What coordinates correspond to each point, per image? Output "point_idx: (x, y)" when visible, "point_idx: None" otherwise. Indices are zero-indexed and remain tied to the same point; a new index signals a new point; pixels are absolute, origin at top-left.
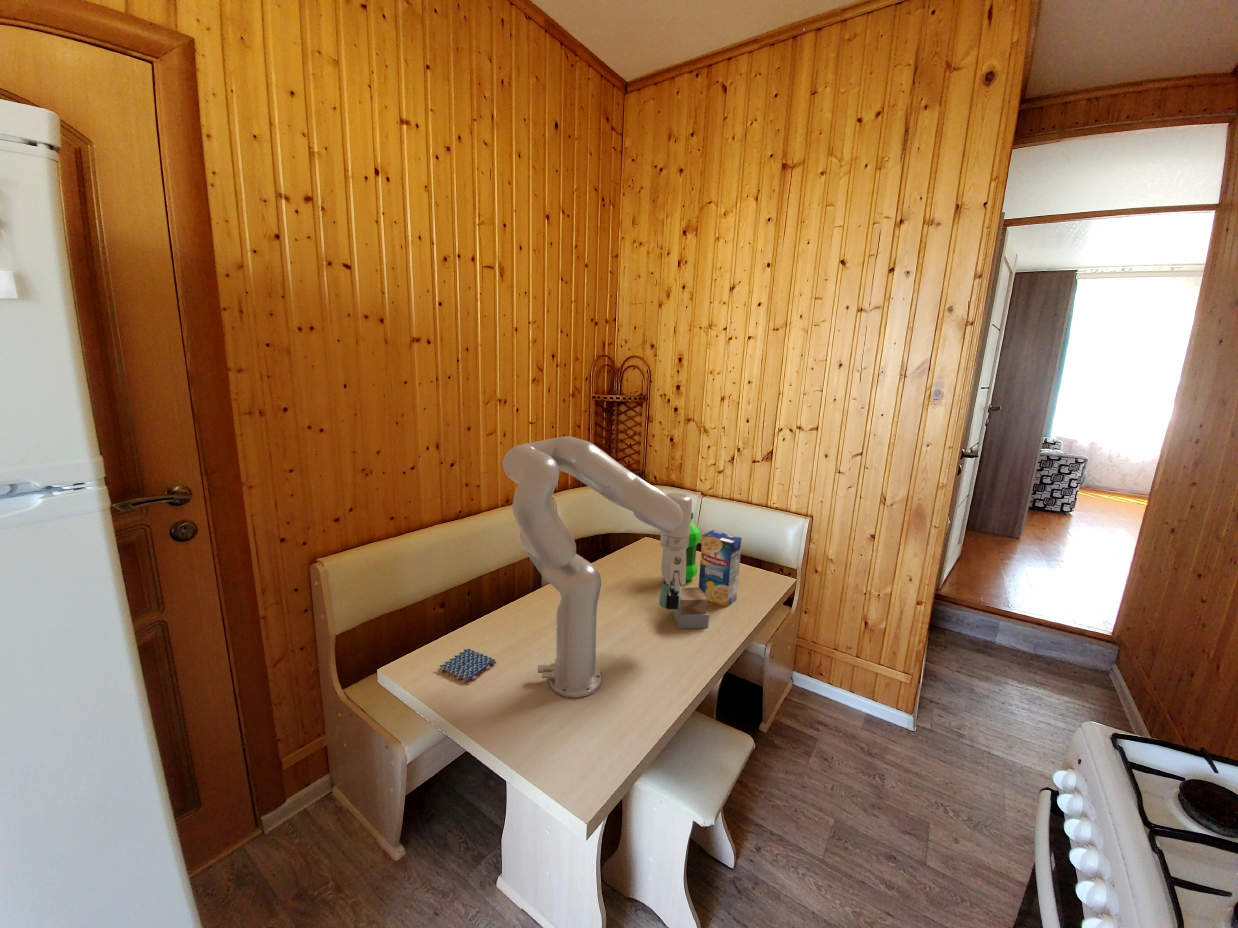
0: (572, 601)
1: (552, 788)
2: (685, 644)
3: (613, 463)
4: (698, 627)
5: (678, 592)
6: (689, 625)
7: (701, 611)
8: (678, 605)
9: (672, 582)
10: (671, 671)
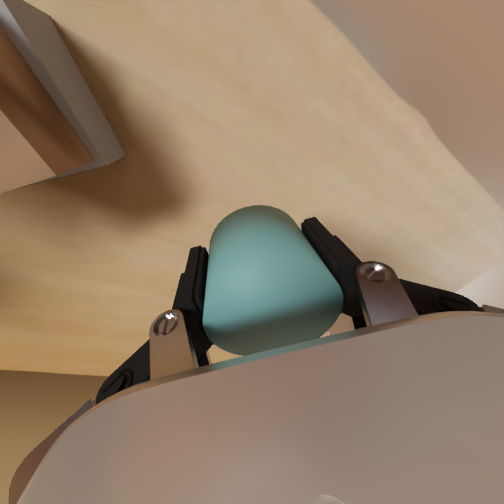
0: None
1: (481, 272)
2: (211, 131)
3: None
4: (79, 71)
5: (465, 298)
6: (99, 115)
7: (4, 42)
8: (285, 215)
9: (187, 323)
10: (329, 168)
